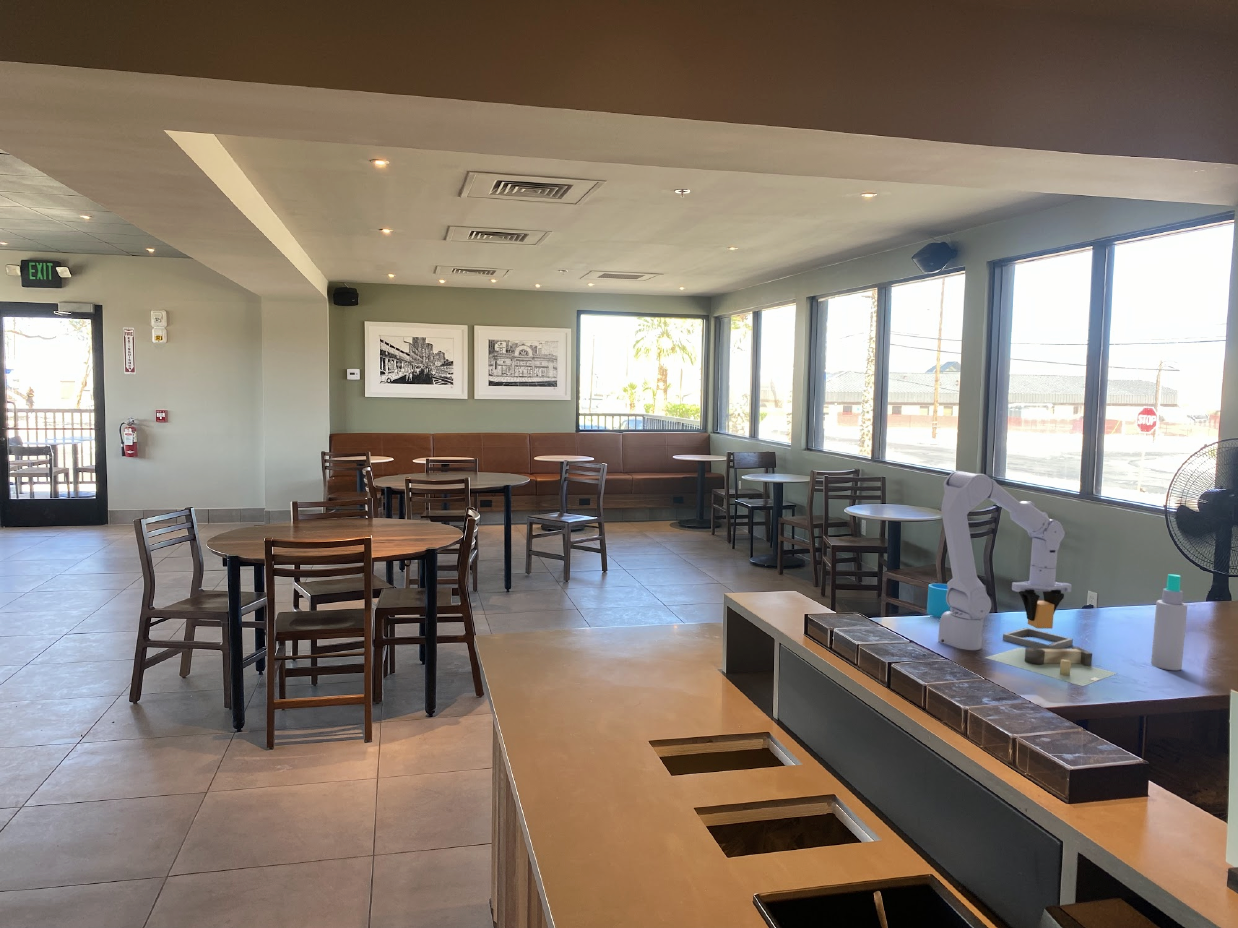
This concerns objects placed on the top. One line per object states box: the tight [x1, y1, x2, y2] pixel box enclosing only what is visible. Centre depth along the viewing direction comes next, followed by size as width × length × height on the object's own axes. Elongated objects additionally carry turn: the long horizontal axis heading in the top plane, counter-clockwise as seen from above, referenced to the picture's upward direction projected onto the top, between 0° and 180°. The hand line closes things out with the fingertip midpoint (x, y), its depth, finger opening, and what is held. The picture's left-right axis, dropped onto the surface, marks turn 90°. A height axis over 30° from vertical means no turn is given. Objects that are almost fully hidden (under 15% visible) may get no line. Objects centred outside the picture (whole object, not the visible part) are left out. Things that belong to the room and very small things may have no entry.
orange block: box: [1027, 600, 1055, 630], centre depth 205 cm, size 4×4×6 cm
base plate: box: [984, 646, 1118, 687], centre depth 187 cm, size 22×16×4 cm
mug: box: [926, 583, 950, 618], centre depth 235 cm, size 12×8×8 cm
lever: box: [1025, 646, 1093, 666], centre depth 190 cm, size 14×5×3 cm, turn 96°
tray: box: [1002, 627, 1074, 649], centre depth 206 cm, size 12×12×3 cm
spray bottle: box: [1150, 573, 1188, 672], centre depth 193 cm, size 6×6×22 cm
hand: (1039, 619), depth 205 cm, fingers closed on orange block, 4 cm apart
